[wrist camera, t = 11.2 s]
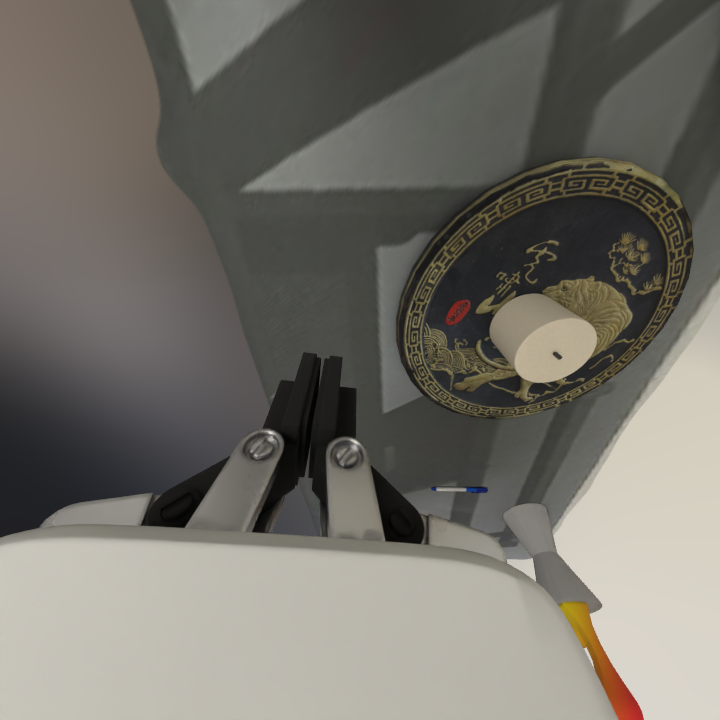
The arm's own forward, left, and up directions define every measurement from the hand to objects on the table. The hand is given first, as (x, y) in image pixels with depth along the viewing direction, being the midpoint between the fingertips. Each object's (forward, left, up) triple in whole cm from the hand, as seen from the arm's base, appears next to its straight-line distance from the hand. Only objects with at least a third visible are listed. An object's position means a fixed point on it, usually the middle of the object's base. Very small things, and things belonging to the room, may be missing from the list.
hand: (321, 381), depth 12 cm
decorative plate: (+2, +22, -19) cm, 29 cm away
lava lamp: (+44, +44, -20) cm, 65 cm away
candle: (+2, +20, -17) cm, 27 cm away
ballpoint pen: (+37, +27, -20) cm, 50 cm away
